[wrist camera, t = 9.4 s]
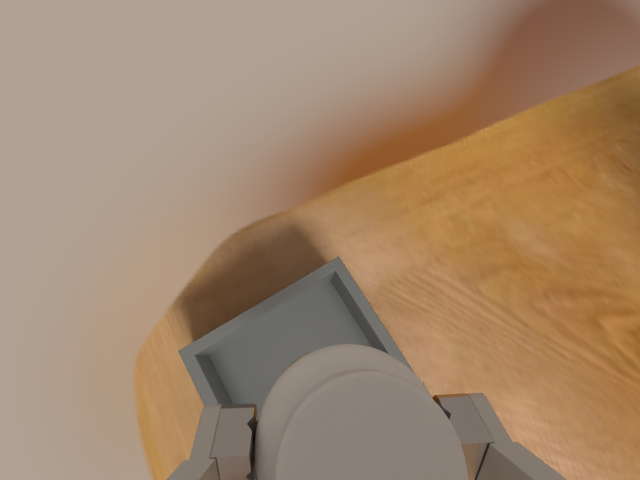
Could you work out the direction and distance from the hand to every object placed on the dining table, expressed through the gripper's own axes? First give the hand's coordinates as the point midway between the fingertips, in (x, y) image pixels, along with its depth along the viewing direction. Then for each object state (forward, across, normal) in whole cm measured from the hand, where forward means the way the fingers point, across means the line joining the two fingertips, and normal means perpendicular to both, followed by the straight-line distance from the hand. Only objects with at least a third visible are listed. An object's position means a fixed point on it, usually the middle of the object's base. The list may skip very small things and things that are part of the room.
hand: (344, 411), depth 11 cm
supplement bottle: (+4, 0, +5) cm, 6 cm away
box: (+13, 0, +13) cm, 18 cm away
